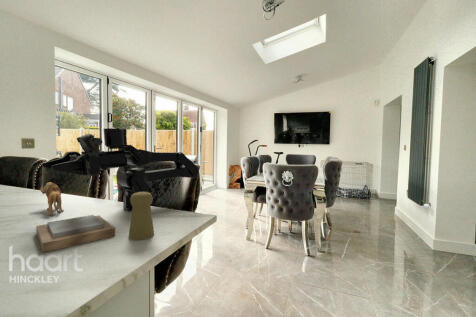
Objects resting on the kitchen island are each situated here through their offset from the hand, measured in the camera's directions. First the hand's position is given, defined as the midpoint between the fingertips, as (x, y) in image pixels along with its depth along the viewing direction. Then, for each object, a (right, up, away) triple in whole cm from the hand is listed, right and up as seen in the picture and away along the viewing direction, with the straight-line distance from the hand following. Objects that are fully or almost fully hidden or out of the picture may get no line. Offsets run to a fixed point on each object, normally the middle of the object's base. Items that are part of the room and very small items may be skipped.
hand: (47, 166), depth 65 cm
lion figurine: (-10, -16, +15) cm, 24 cm away
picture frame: (+12, -17, -5) cm, 21 cm away
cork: (+28, -17, -5) cm, 33 cm away
